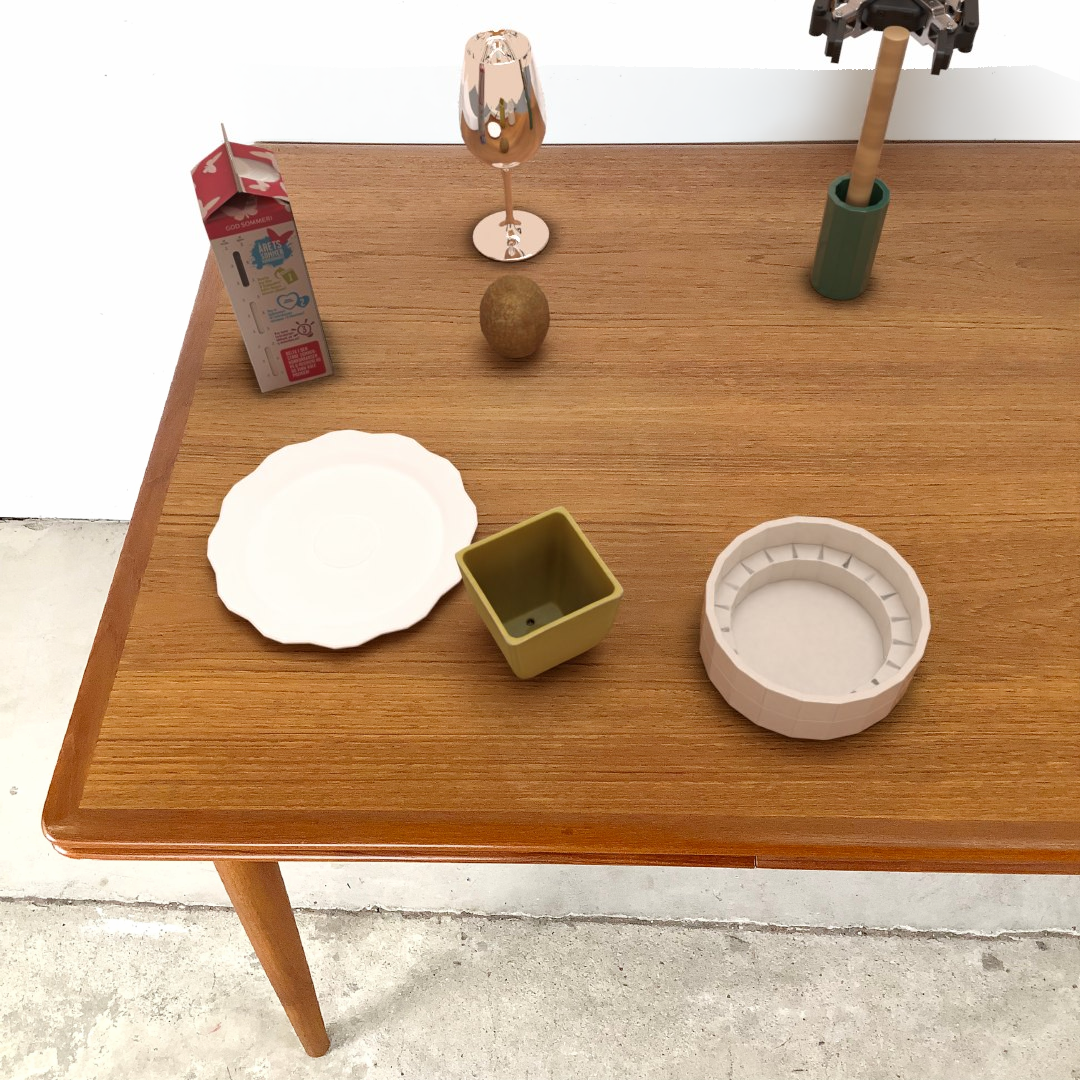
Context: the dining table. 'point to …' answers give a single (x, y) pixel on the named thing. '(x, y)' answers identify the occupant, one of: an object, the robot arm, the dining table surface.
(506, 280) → the fruit
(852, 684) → the bowl
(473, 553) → the flower pot
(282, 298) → the juice carton
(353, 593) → the plate
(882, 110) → the stirring stick
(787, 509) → the dining table surface
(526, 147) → the wineglass
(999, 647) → the dining table surface
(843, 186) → the holder
